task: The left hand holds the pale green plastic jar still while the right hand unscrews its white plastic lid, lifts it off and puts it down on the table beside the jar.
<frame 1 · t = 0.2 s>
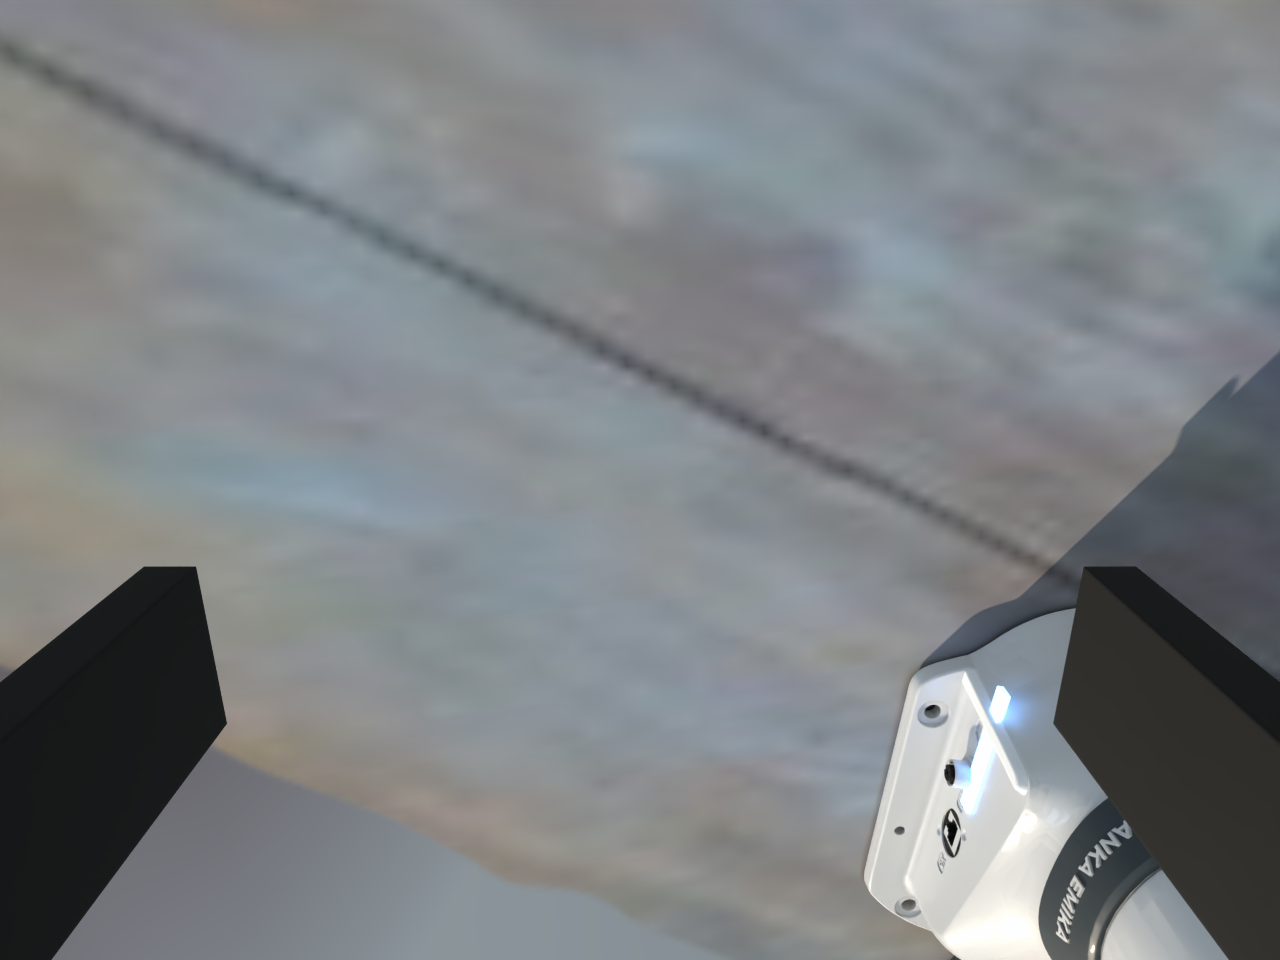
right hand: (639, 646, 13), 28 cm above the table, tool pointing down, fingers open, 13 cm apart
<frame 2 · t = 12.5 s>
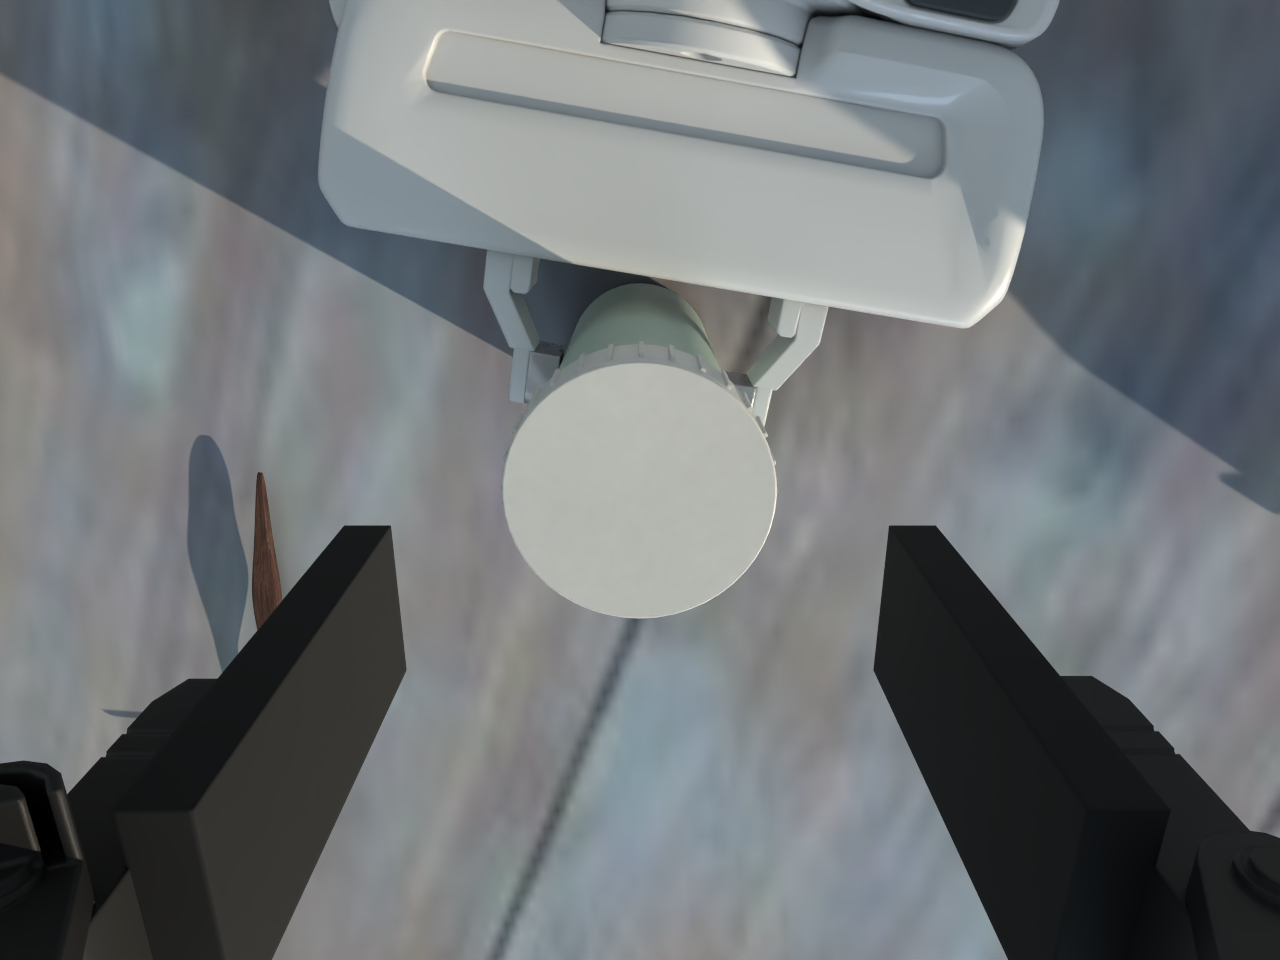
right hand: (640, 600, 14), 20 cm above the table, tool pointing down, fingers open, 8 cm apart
left hand: (636, 417, 28), fingers closed on jar, 5 cm apart
lid: (639, 491, 19), point 15 cm above the table, screwed on, not yet turned
fork: (276, 636, 38), on the table
jar: (639, 352, 33), on the table, touching left hand
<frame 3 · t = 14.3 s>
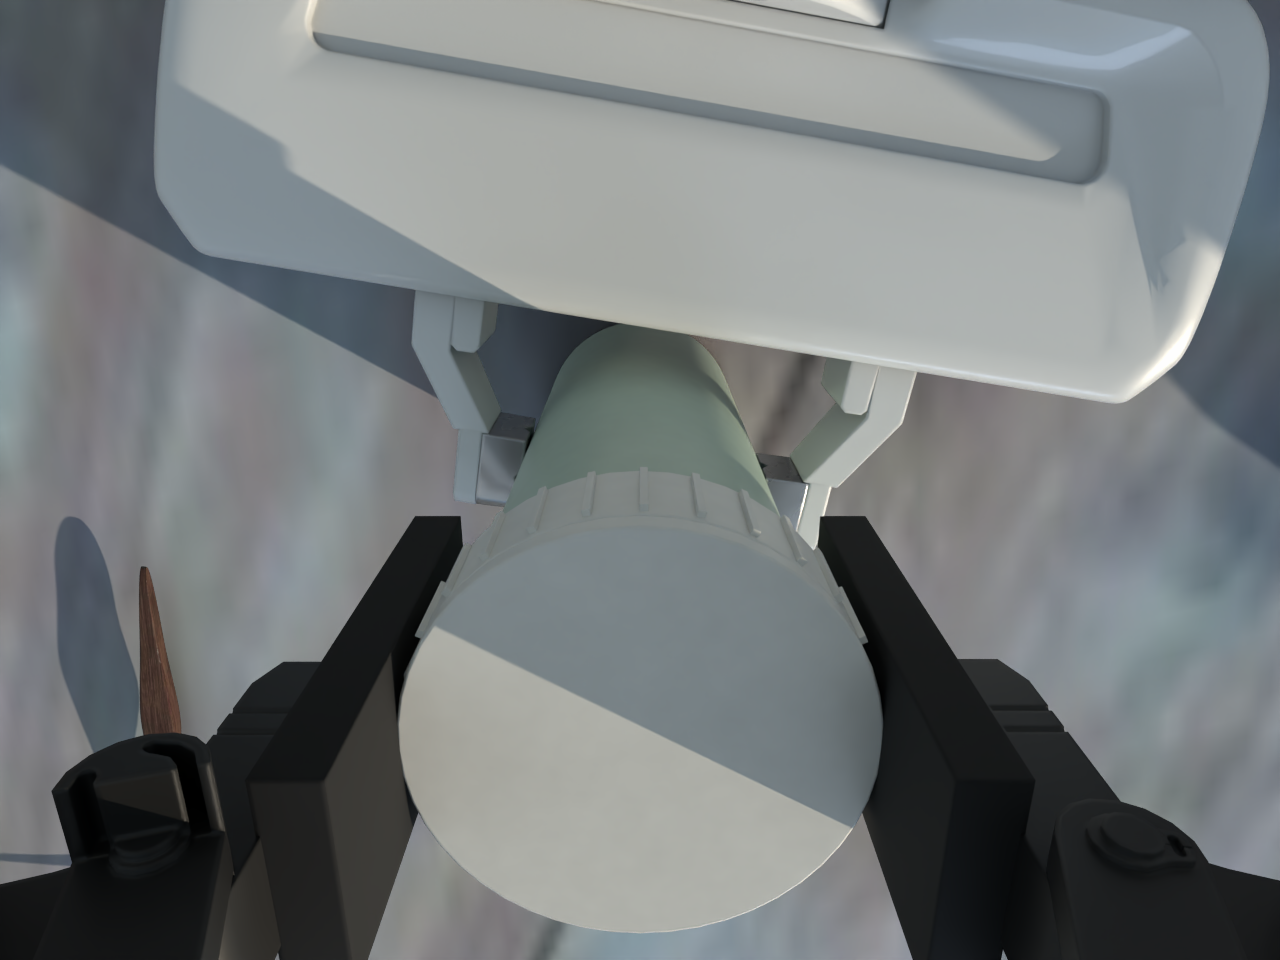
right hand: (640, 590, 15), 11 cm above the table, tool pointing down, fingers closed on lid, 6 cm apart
left hand: (636, 519, 20), fingers closed on jar, 5 cm apart
lid: (640, 732, 11), point 15 cm above the table, screwed on, not yet turned, touching right hand
fork: (177, 764, 30), on the table
jar: (640, 411, 25), on the table, touching left hand
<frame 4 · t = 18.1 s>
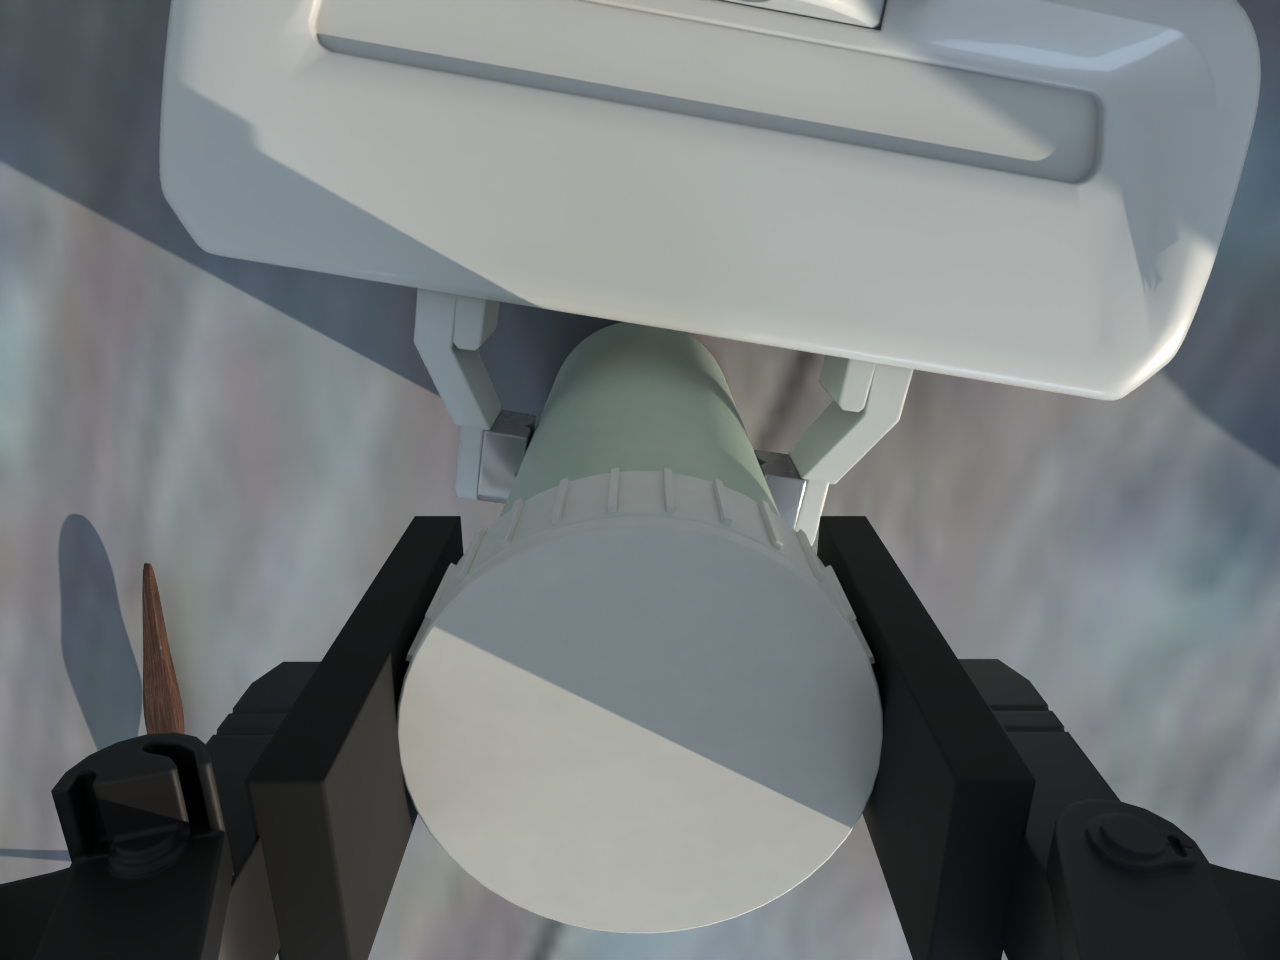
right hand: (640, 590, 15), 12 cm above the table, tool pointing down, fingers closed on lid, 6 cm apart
left hand: (636, 515, 20), fingers closed on jar, 5 cm apart
lid: (639, 733, 11), point 16 cm above the table, turned 123° so far, risen 0.2 cm, still on its thread, touching right hand
fork: (180, 760, 30), on the table
jar: (640, 409, 26), on the table, touching left hand
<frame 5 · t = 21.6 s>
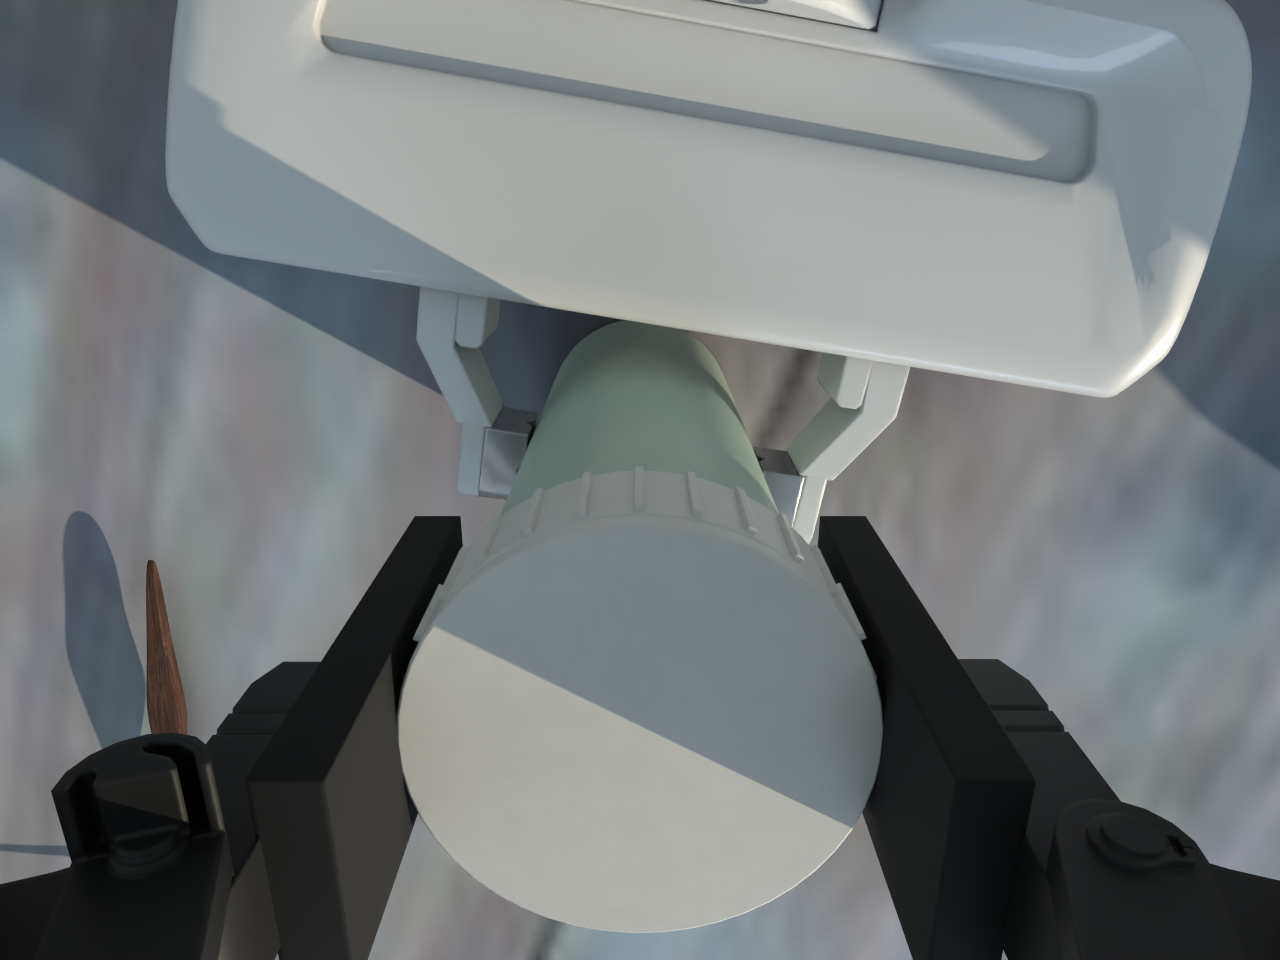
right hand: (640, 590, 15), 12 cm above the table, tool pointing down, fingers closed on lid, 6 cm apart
left hand: (635, 512, 20), fingers closed on jar, 5 cm apart
lid: (639, 732, 11), point 16 cm above the table, turned 245° so far, risen 0.4 cm, still on its thread, touching right hand
fork: (183, 755, 30), on the table
jar: (640, 406, 26), on the table, touching left hand
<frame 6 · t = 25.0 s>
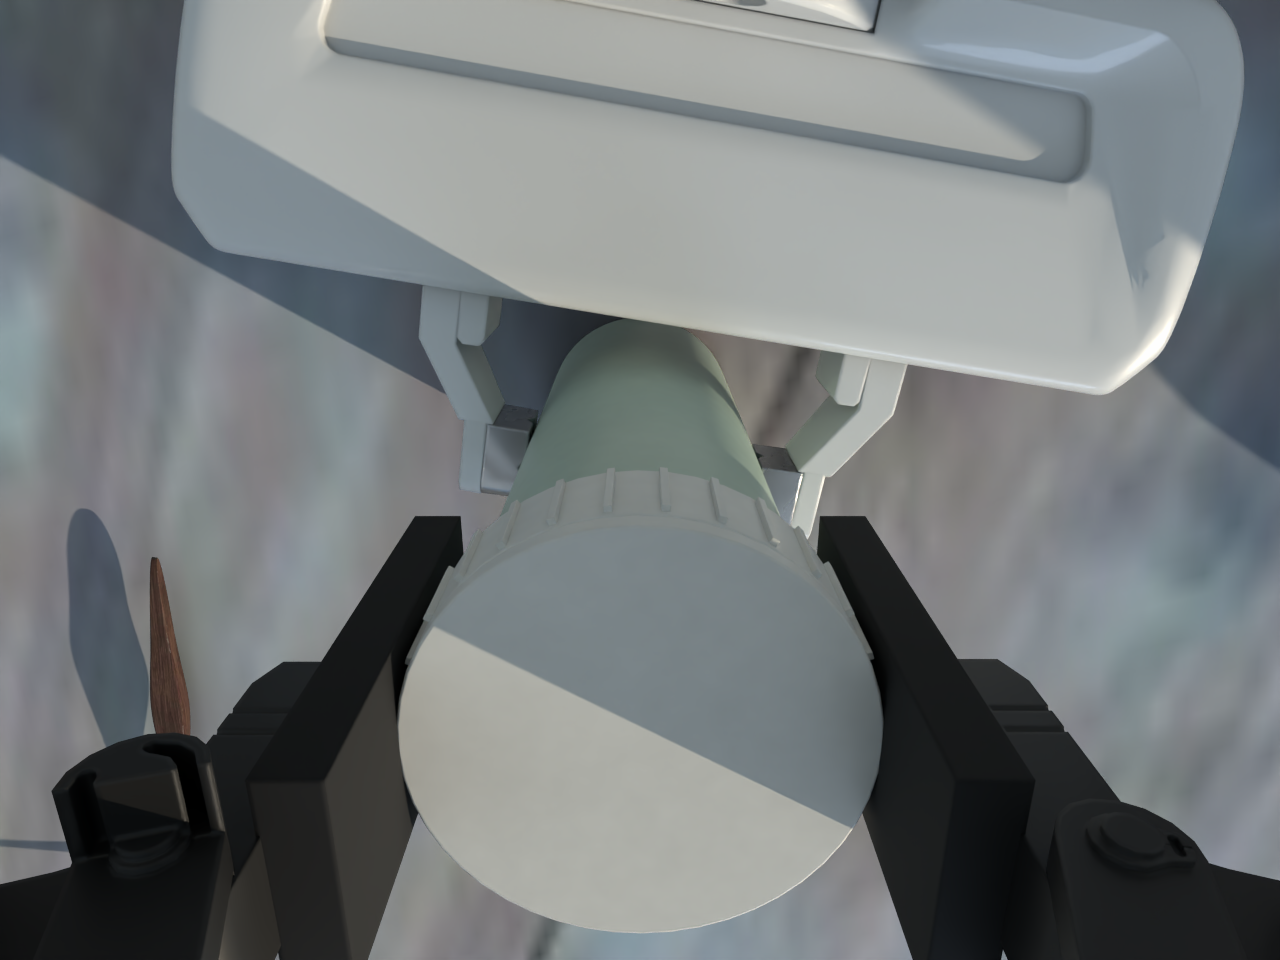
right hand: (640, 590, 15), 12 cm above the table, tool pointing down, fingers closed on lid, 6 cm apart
left hand: (636, 508, 20), fingers closed on jar, 5 cm apart
lid: (640, 732, 11), point 16 cm above the table, turned 368° so far, risen 0.6 cm, still on its thread, touching right hand
fork: (186, 752, 30), on the table
jar: (640, 404, 26), on the table, touching left hand
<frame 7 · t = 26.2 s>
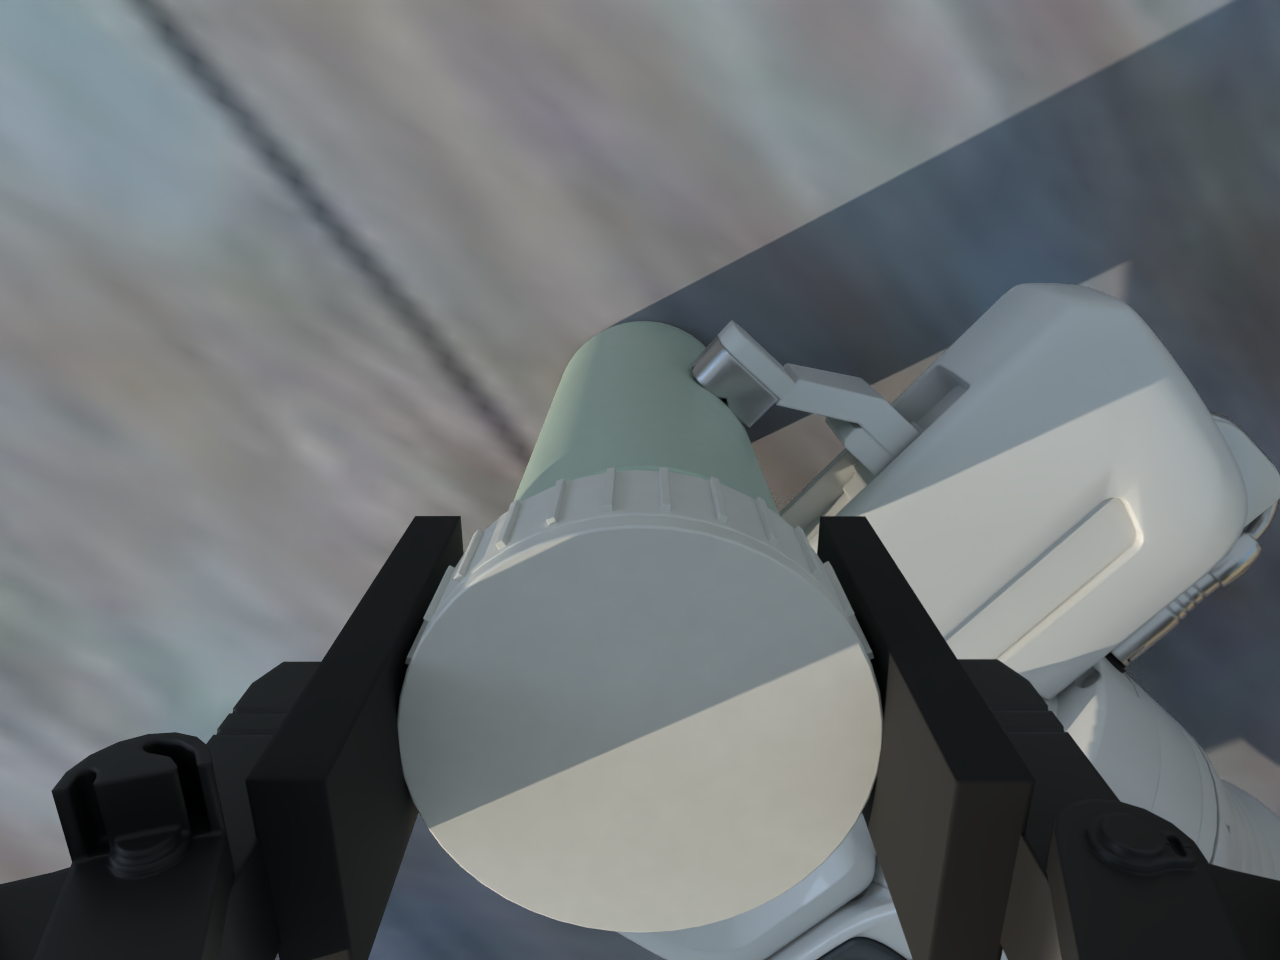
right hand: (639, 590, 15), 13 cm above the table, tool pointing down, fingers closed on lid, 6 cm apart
lid: (640, 732, 11), point 17 cm above the table, off its thread, touching right hand
jar: (643, 406, 27), on the table, touching left hand
when the right hand's fingers open (0 cm above the table, at t = 32.3 s): lid drops 3 cm, point 2 cm above the table.
when the left hand's fingers open (6 cm above the table, at t = 33.1 s): jar stays where it is, on the table.
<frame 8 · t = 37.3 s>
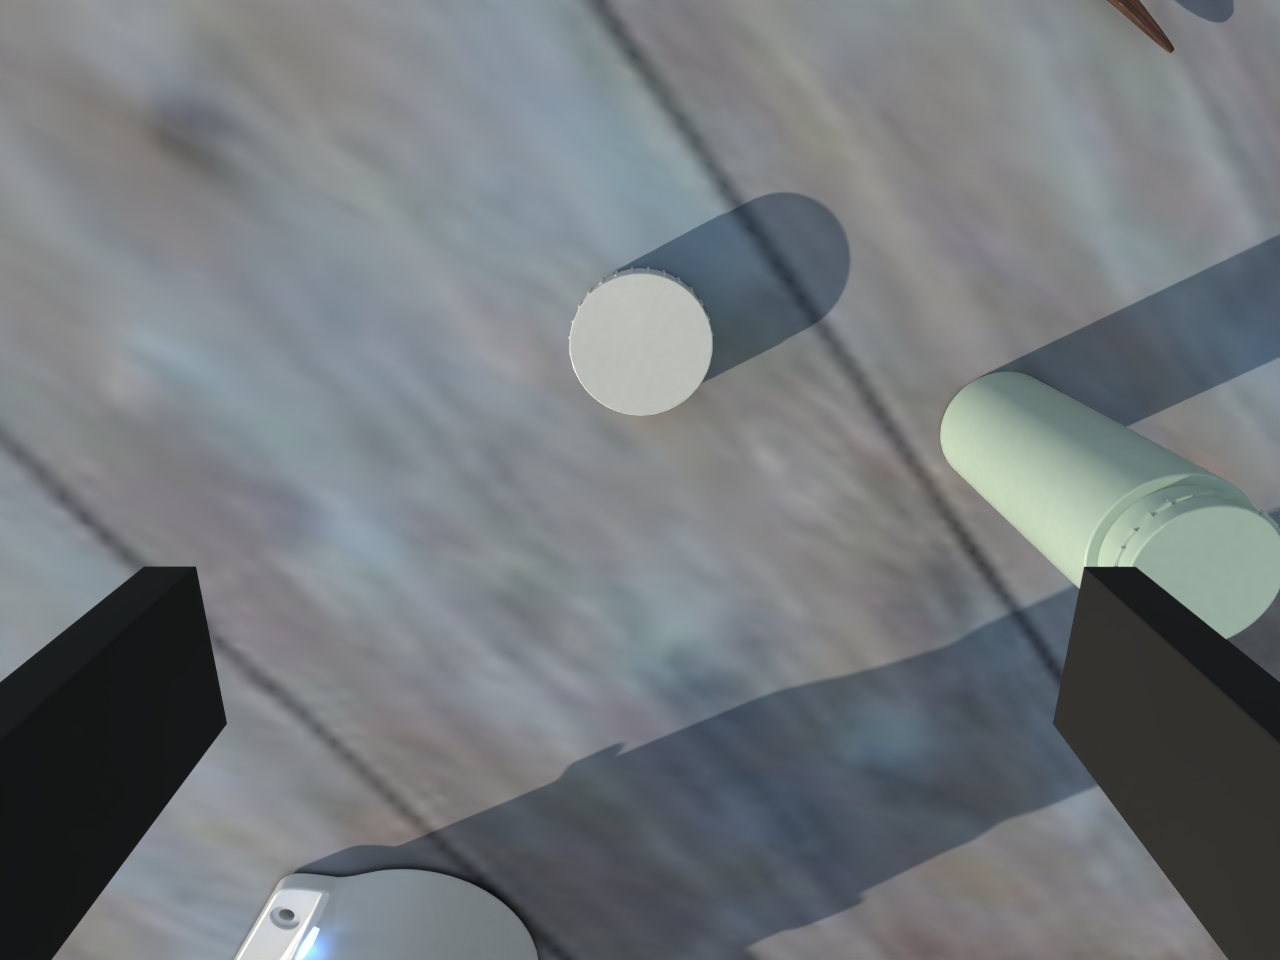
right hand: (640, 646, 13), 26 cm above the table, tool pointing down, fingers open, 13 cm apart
lid: (641, 344, 36), point 2 cm above the table, off its thread
jar: (998, 428, 39), on the table
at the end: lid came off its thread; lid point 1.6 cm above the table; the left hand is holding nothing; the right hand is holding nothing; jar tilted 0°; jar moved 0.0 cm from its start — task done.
